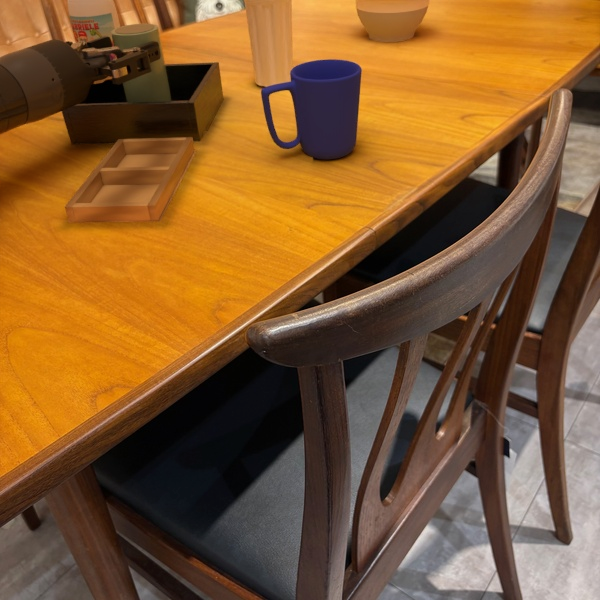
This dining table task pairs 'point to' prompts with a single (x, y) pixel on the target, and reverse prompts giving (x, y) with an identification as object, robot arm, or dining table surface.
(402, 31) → the bowl
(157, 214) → the divided wooden tray
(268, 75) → the cup
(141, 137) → the dark brown open box
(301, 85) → the mug
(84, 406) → the dining table surface
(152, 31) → the tumbler
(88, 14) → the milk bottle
